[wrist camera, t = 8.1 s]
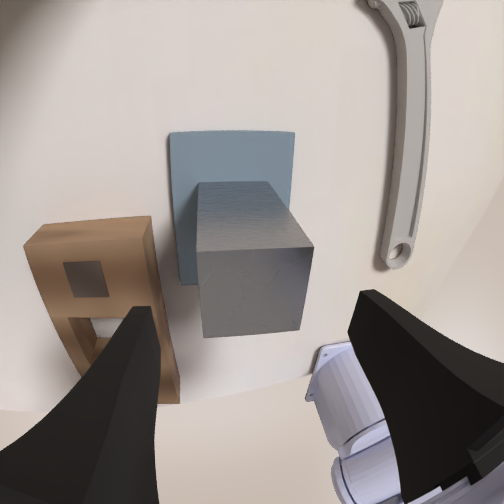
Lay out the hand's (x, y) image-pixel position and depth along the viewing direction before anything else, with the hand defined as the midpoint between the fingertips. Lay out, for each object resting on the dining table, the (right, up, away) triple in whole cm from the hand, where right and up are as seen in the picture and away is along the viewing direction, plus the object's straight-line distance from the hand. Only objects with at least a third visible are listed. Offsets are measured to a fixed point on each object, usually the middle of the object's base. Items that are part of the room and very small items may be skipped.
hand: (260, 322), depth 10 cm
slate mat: (-2, +5, +8) cm, 10 cm away
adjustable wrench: (+10, +13, +6) cm, 17 cm away
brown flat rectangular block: (-11, -3, +11) cm, 15 cm away
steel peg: (-1, +5, +8) cm, 9 cm away
